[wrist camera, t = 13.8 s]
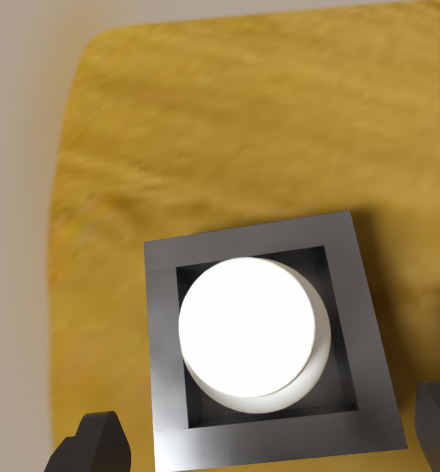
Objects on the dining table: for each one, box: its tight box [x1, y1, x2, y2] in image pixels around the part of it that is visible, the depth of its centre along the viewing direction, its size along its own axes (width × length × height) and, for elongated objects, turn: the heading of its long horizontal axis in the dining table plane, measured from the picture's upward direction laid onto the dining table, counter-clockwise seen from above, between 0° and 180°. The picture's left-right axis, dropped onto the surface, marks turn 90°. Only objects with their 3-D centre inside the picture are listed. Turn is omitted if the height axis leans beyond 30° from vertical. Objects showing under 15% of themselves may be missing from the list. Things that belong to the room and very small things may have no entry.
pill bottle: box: [179, 257, 331, 413], centre depth 16 cm, size 5×5×10 cm
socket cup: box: [144, 210, 408, 472], centre depth 19 cm, size 10×10×4 cm
